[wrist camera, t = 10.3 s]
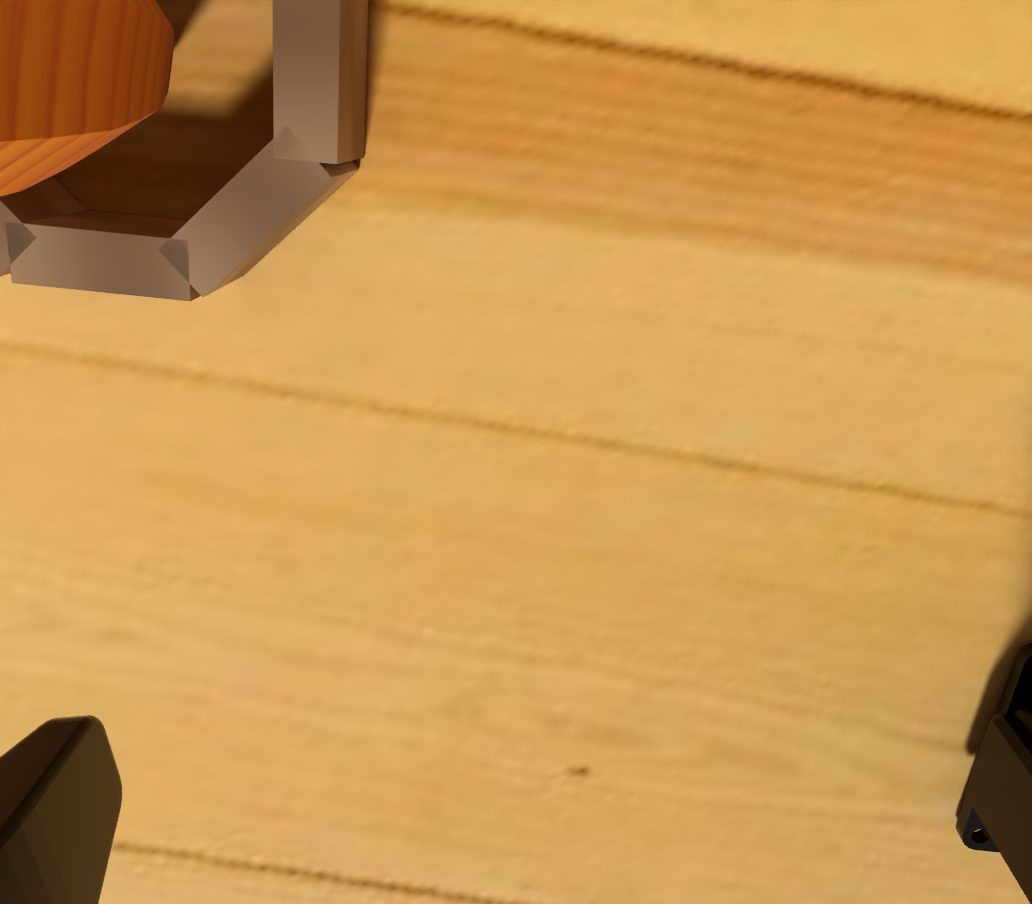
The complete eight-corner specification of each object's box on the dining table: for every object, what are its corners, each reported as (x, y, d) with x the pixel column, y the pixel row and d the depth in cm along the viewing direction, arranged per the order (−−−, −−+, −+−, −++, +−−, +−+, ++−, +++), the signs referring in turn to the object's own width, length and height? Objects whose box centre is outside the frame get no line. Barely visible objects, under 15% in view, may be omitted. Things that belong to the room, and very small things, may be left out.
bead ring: (374, -207, 17) (344, -257, 14) (360, 291, 20) (334, 316, 18) (-122, -255, 17) (-233, -315, 14) (-51, 249, 20) (-131, 268, 18)
